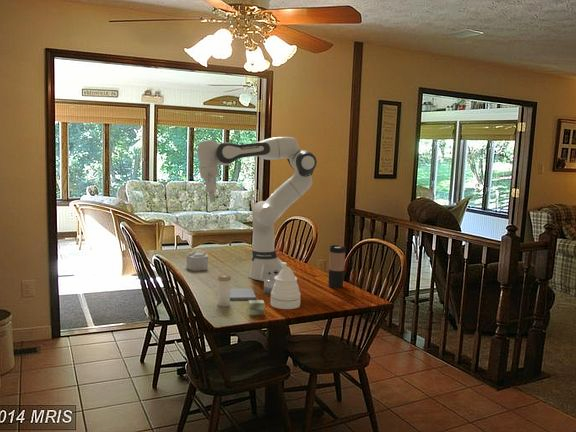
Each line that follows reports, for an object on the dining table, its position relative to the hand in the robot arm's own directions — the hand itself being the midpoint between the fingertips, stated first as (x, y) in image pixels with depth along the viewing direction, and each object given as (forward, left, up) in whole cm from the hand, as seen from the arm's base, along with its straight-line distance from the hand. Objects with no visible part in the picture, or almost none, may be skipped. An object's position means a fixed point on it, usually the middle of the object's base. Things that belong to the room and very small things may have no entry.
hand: (212, 201), depth 248 cm
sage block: (-16, +50, -40) cm, 66 cm away
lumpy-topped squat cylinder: (+7, -28, -40) cm, 49 cm away
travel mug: (-60, +12, -40) cm, 73 cm away
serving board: (-10, +25, -40) cm, 48 cm away
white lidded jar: (-4, +38, -40) cm, 55 cm away
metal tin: (-26, +21, -40) cm, 52 cm away
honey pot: (-30, +39, -40) cm, 64 cm away
